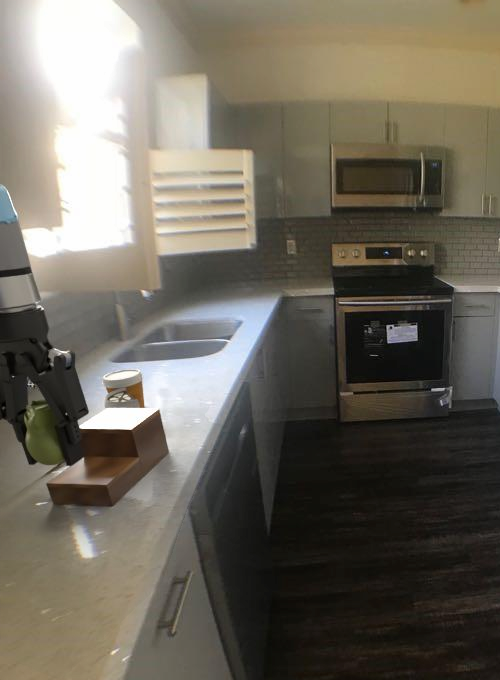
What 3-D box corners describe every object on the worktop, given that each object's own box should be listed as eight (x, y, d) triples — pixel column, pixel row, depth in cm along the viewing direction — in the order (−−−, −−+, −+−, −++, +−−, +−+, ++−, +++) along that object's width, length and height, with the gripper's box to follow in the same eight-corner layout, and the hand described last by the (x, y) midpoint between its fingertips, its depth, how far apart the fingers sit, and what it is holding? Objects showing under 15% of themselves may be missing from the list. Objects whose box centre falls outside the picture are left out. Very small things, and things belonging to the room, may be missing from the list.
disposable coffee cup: (122, 410, 127) (111, 369, 123) (157, 408, 128) (148, 367, 124) (105, 425, 119) (93, 381, 114) (143, 422, 119) (132, 379, 115)
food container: (107, 429, 116) (97, 393, 112) (133, 422, 120) (124, 386, 116) (119, 446, 107) (109, 407, 104) (147, 437, 111) (138, 399, 107)
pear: (62, 450, 72) (44, 392, 69) (87, 455, 71) (69, 396, 67) (26, 468, 67) (4, 407, 64) (52, 474, 66) (31, 411, 62)
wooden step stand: (53, 504, 86) (35, 453, 82) (119, 451, 105) (107, 408, 101) (112, 506, 85) (97, 454, 81) (169, 452, 104) (159, 408, 100)
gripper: (-85, 314, 58) (-22, 472, 66) (50, 314, 56) (97, 476, 65) (-29, 302, 65) (21, 446, 73) (92, 302, 63) (129, 450, 72)
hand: (56, 460), depth 69 cm, fingers closed on pear, 5 cm apart
